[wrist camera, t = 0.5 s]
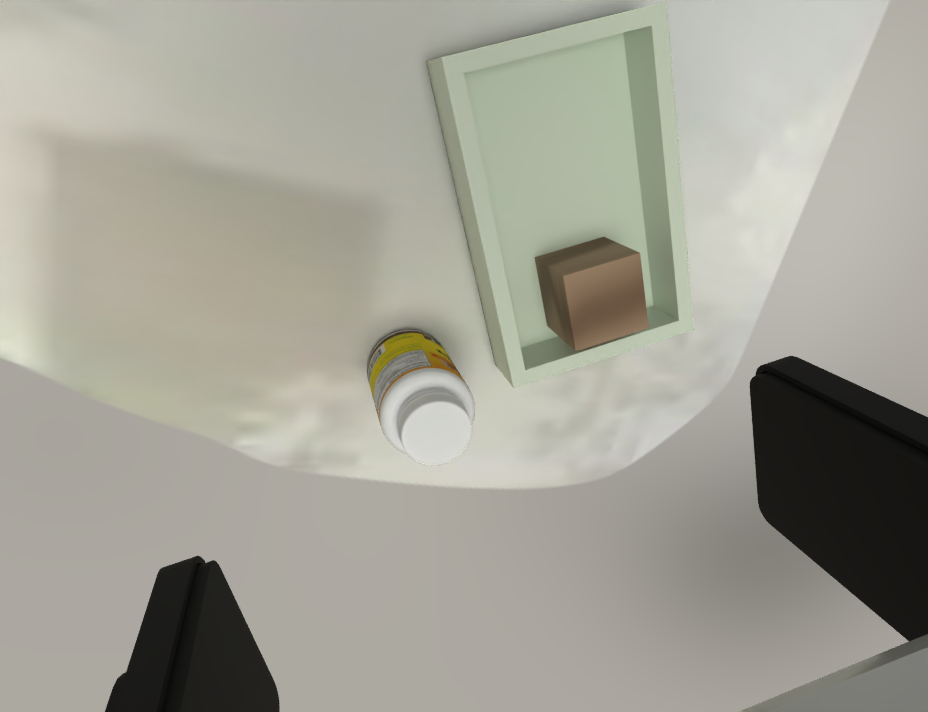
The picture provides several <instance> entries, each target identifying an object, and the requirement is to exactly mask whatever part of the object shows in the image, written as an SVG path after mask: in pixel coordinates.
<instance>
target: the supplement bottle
mask: <svg viewBox="0 0 928 712" xmlns="http://www.w3.org/2000/svg"><path fill="white" fill-rule="evenodd" d="M367 375H368V381H369V385H370V388H371V392H372V396H373V400H374V403H375V407H376V411H377V414H378V418H379V421H380V425H381V427H382V430H383V433H384V435H385V437H386V438H387V440H388V441H389V442H390V444H391V445H392V446H393V447H395V448H396V449H397V450H399V451H400V452H402V453H404V454H407V455H408V456H409V457H411V458H412V459H413V460H415V461H416V462H418V463H421V464H424V465H431V466H434V465H442V464H445V463H448V462H450V461H452V460H454V459H456V458H457V457H458V456H459V455H461V454H462V453H463V451H464V450H465V449H466V447H467V446H468V444H469V442H470V439H471V435H472V424H473V421H474V416H475V404H474V399H473V396H472V394H471V392H470V390H469V388H468V386H467V384H466V383H465V381H464V380H463V378H462V377H461V375H460V373H459V372H458V370H457V369H456V367H455V365H454V364H453V362H452V361H451V359H450V358H449V356H448V354H447V353H446V351H445V350H444V348H443V347H442V345H441V344H440V343H439V342H438V341H437V340H436V339H435V338H434V337H432V336H430V335H429V334H427V333H425V332H422V331H418V330H402V331H398V332H395V333H392V334H390V335H388V336H387V337H385V338H384V339H382V340H381V341H380V342H379V343H378V344H377V345H376V347H375V348H374V349H373V351H372V353H371V355H370V357H369V361H368V366H367Z"/></svg>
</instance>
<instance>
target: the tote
mask: <svg viewBox="0 0 928 712" xmlns="http://www.w3.org/2000/svg"><path fill="white" fill-rule="evenodd" d="M426 63H427V67H428V72H429V76H430V80H431V85H432V89H433V93H434V98H435V102H436V107H437V111H438V115H439V120H440V124H441V129H442V133H443V137H444V142H445V146H446V150H447V155H448V159H449V164H450V168H451V172H452V177H453V181H454V185H455V190H456V194H457V199H458V203H459V207H460V212H461V216H462V221H463V225H464V229H465V234H466V238H467V242H468V247H469V251H470V256H471V260H472V264H473V269H474V273H475V278H476V282H477V286H478V291H479V295H480V299H481V304H482V308H483V313H484V317H485V321H486V326H487V330H488V335H489V339H490V343H491V348H492V352H493V356H494V361H495V365H496V366H497V367H498V369H499V370H500V371H501V372H502V374H503V375H504V376H505V378H506V379H507V380H508V382H509V383H510V384H511V385H512V387H513V388H516V387H520V386H523V385H526V384H529V383H532V382H535V381H538V380H541V379H544V378H547V377H550V376H553V375H556V374H559V373H562V372H566V371H569V370H572V369H575V368H578V367H581V366H584V365H587V364H590V363H593V362H596V361H599V360H602V359H605V358H608V357H612V356H615V355H618V354H621V353H624V352H627V351H630V350H633V349H636V348H639V347H642V346H645V345H648V344H651V343H654V342H658V341H661V340H664V339H667V338H670V337H673V336H676V335H679V334H682V333H685V332H688V331H691V330H694V327H693V315H692V303H691V291H690V279H689V267H688V255H687V243H686V231H685V219H684V207H683V195H682V183H681V171H680V159H679V147H678V135H677V123H676V111H675V99H674V87H673V75H672V63H671V51H670V39H669V27H668V15H667V3H666V1H665V2H661V3H657V4H653V5H649V6H645V7H641V8H637V9H633V10H629V11H625V12H621V13H617V14H613V15H609V16H605V17H601V18H597V19H593V20H589V21H585V22H581V23H577V24H573V25H569V26H565V27H561V28H557V29H553V30H549V31H545V32H541V33H537V34H533V35H529V36H525V37H521V38H517V39H512V40H508V41H504V42H500V43H496V44H492V45H488V46H484V47H480V48H476V49H472V50H468V51H464V52H460V53H456V54H452V55H448V56H444V57H440V58H436V59H433V60H429V61H426ZM601 237H606V238H608V239H610V240H613V241H615V242H617V243H619V244H622V245H624V246H626V247H628V248H631V249H633V250H635V251H637V252H640V256H641V265H642V273H643V282H644V291H645V300H646V308H647V317H648V326H649V328H647V329H644V330H641V331H637V332H634V333H631V334H628V335H625V336H622V337H619V338H616V339H613V340H610V341H606V342H603V343H600V344H597V345H594V346H591V347H588V348H585V349H582V350H579V351H575V350H574V349H573V348H571V347H570V346H569V345H568V344H567V343H566V342H565V341H564V340H562V339H561V338H560V337H559V336H558V335H557V334H556V333H555V332H553V331H552V330H551V329H550V328H549V327H548V326H547V323H546V317H545V312H544V306H543V301H542V296H541V290H540V285H539V279H538V274H537V269H536V263H535V258H534V257H537V256H541V255H544V254H547V253H551V252H554V251H557V250H561V249H564V248H567V247H571V246H574V245H578V244H581V243H584V242H588V241H591V240H594V239H598V238H601Z"/></svg>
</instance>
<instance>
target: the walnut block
mask: <svg viewBox="0 0 928 712" xmlns="http://www.w3.org/2000/svg"><path fill="white" fill-rule="evenodd" d="M534 258H535V263H536V269H537V274H538V279H539V285H540V290H541V296H542V301H543V306H544V312H545V317H546V323H547V326H548V327H549V328H550V329H551V330H552V331H553V332H555V333H556V334H557V335H558V336H559V337H560V338H561V339H562V340H564V341H565V342H566V343H567V344H568V345H569V346H570V347H571V348H573V349H574V350H575V351H579V350H582V349H585V348H588V347H591V346H594V345H597V344H600V343H603V342H606V341H610V340H613V339H616V338H619V337H622V336H625V335H628V334H631V333H634V332H637V331H641V330H644V329H647V328H649V326H648V317H647V308H646V300H645V291H644V282H643V273H642V265H641V256H640V252H637V251H635V250H633V249H631V248H628V247H626V246H624V245H622V244H619V243H617V242H615V241H613V240H610V239H608V238H606V237H601V238H598V239H594V240H591V241H588V242H584V243H581V244H578V245H574V246H571V247H567V248H564V249H561V250H557V251H554V252H551V253H547V254H544V255H541V256H537V257H534Z"/></svg>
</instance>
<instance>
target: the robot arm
mask: <svg viewBox="0 0 928 712" xmlns="http://www.w3.org/2000/svg"><path fill="white" fill-rule="evenodd" d="M750 397H751V411H752V423H753V438H754V450H755V451H754V452H755V464H756V479H757V492H758V504H759V508H760V510H761V513H762V514H763V516H764V518H765V519H766V521H767V522H768V523H769V524H770V525H772V526H773V527H774V528H775V529H776V530H778V531H779V532H780V533H781V534H782V535H783V536H785V537H786V538H787V539H788V540H789V541H791V542H792V543H793V544H794V545H795V546H796V547H798V548H799V549H800V550H801V551H803V552H804V553H805V554H806V555H807V556H808V557H810V558H811V559H812V560H813V561H814V562H816V563H817V564H818V565H819V566H820V567H821V568H823V569H824V570H825V571H826V572H827V573H829V574H830V575H831V576H832V577H833V578H835V579H836V580H837V581H838V582H839V583H841V584H842V585H843V586H844V587H845V588H846V589H848V590H849V591H850V592H851V593H852V594H854V595H855V596H856V597H857V598H858V599H859V600H861V601H862V602H863V603H864V604H865V605H867V606H868V607H869V608H870V609H871V610H873V611H874V612H875V613H876V614H877V615H878V616H880V617H881V618H882V619H883V620H885V621H886V622H887V623H888V624H889V625H890V626H892V627H893V628H894V629H895V630H896V631H897V632H899V633H900V634H901V635H902V636H903V637H905V638H906V639H907V640H908V641H909V642H907V643H905V644H902V645H900V646H897V647H895V648H892V649H890V650H888V651H885V652H883V653H880V654H878V655H875V656H873V657H871V658H868V659H866V660H863V661H861V662H858V663H856V664H853V665H851V666H848V667H846V668H844V669H841V670H839V671H837V672H834V673H831V674H829V675H827V676H824V677H822V678H819V679H817V680H814V681H812V682H809V683H807V684H805V685H802V686H800V687H797V688H795V689H793V690H790V691H788V692H785V693H783V694H781V695H778V696H776V697H773V698H771V699H768V700H766V701H764V702H761V703H759V704H757V705H754V706H752V707H749V708H747V709H744V710H742V711H740V712H928V417H926V416H924V415H922V414H919V413H917V412H915V411H913V410H910V409H908V408H906V407H904V406H902V405H900V404H897V403H895V402H893V401H891V400H889V399H887V398H885V397H882V396H880V395H878V394H876V393H874V392H872V391H869V390H867V389H865V388H863V387H861V386H859V385H856V384H854V383H852V382H850V381H848V380H845V379H843V378H841V377H839V376H837V375H835V374H832V373H830V372H828V371H826V370H824V369H821V368H819V367H817V366H815V365H813V364H811V363H809V362H806V361H804V360H802V359H800V358H797V357H794V356H789V357H785V358H782V359H779V360H776V361H773V362H770V363H768V364H764V365H761V366H760V367H759V368H758V369H757V371H756V376H755V377H753V378H752V379H751V381H750ZM105 712H279V697H278V692H277V688H276V685H275V682H274V680H273V678H272V676H271V674H270V671H269V670H268V667H267V665H266V663H265V661H264V659H263V657H262V655H261V653H260V650H259V648H258V646H257V644H256V642H255V640H254V638H253V636H252V634H251V631H250V629H249V627H248V625H247V623H246V621H245V619H244V617H243V615H242V612H241V610H240V609H239V606H238V604H237V602H236V600H235V598H234V596H233V593H232V591H231V589H230V587H229V585H228V583H227V581H226V579H225V577H224V574H223V572H222V570H221V568H220V566H219V565H218V563H217V562H216V561H214V560H213V561H210V562H207V563H205V561H204V560H203V559H202V558H201V557H200V556H196V557H193V558H190V559H187V560H184V561H181V562H178V563H175V564H172V565H169V566H166V567H163V568H161V569H160V570H159V572H158V575H157V578H156V581H155V584H154V587H153V590H152V593H151V596H150V599H149V603H148V606H147V609H146V612H145V615H144V618H143V622H142V625H141V628H140V631H139V634H138V637H137V640H136V643H135V647H134V650H133V653H132V656H131V659H130V662H129V665H128V669H127V672H126V673H123V674H122V675H121V676H120V677H119V678H118V679H117V681H116V683H115V685H114V687H113V689H112V692H111V695H110V698H109V701H108V704H107V707H106V710H105Z"/></svg>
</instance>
